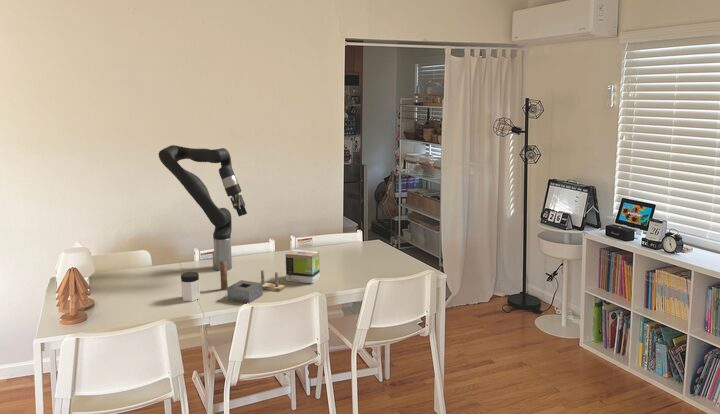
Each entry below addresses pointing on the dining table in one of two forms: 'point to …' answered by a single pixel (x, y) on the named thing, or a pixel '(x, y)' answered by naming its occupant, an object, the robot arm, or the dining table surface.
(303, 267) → the tea box
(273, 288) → the peg rack
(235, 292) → the block
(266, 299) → the dining table surface
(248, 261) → the dining table surface
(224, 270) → the walnut pin
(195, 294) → the jar
